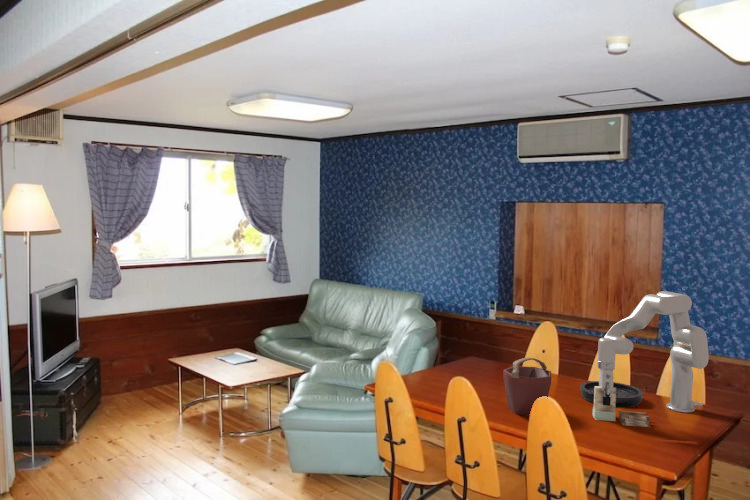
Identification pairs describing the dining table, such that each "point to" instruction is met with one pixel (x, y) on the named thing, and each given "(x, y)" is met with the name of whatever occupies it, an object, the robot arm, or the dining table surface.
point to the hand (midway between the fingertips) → (604, 402)
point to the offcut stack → (636, 421)
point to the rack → (626, 415)
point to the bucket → (525, 385)
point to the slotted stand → (604, 415)
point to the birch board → (599, 400)
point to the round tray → (624, 394)
